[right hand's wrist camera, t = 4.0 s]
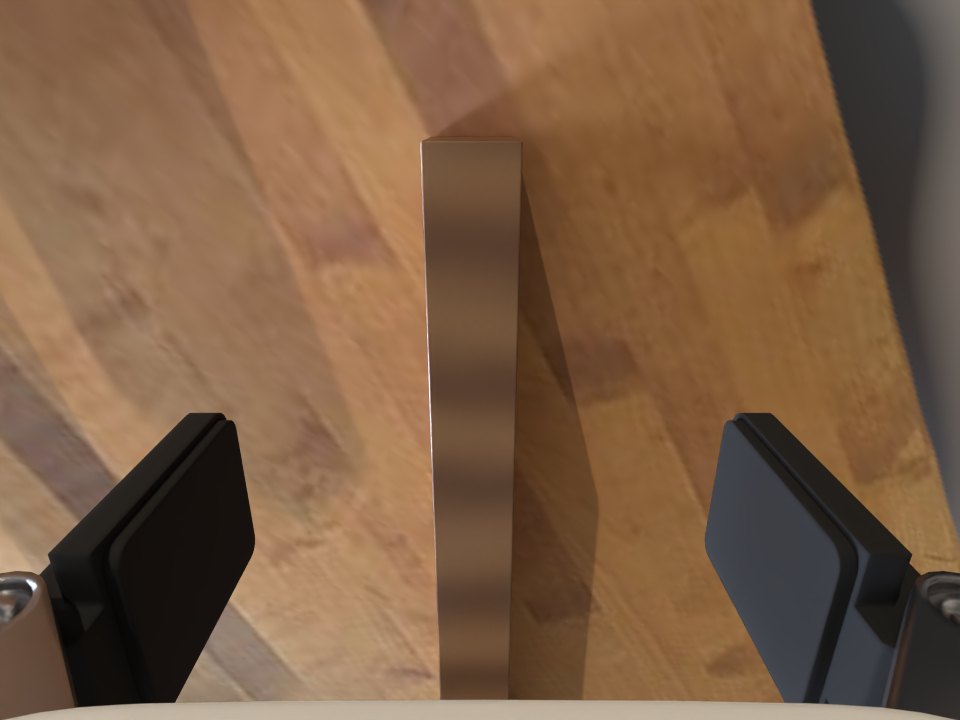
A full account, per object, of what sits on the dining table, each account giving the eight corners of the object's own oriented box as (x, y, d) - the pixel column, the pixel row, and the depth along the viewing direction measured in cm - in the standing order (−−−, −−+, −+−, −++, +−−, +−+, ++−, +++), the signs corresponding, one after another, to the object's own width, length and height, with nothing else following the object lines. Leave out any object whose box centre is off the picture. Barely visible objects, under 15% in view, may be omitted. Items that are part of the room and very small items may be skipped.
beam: (430, 136, 33) (420, 140, 27) (514, 137, 33) (522, 140, 27) (449, 775, 53) (445, 858, 47) (501, 774, 53) (504, 857, 47)
